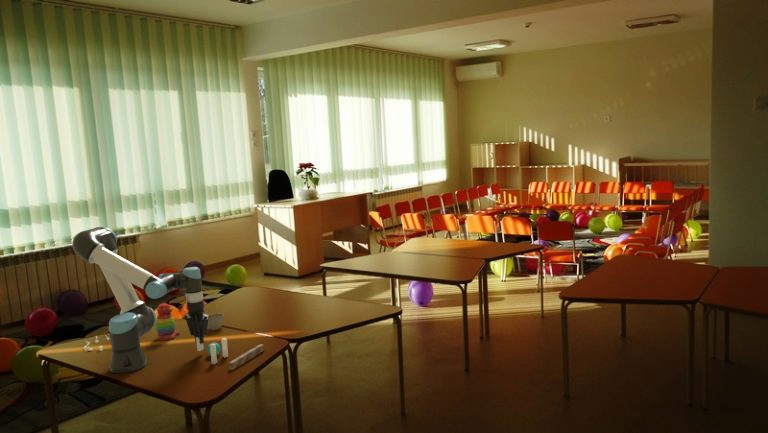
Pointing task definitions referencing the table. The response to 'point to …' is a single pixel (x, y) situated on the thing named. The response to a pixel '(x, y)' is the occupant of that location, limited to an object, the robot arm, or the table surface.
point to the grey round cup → (215, 321)
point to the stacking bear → (165, 323)
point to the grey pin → (213, 353)
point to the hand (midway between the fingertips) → (200, 349)
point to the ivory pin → (224, 347)
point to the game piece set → (92, 348)
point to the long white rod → (246, 357)
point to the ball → (216, 348)
